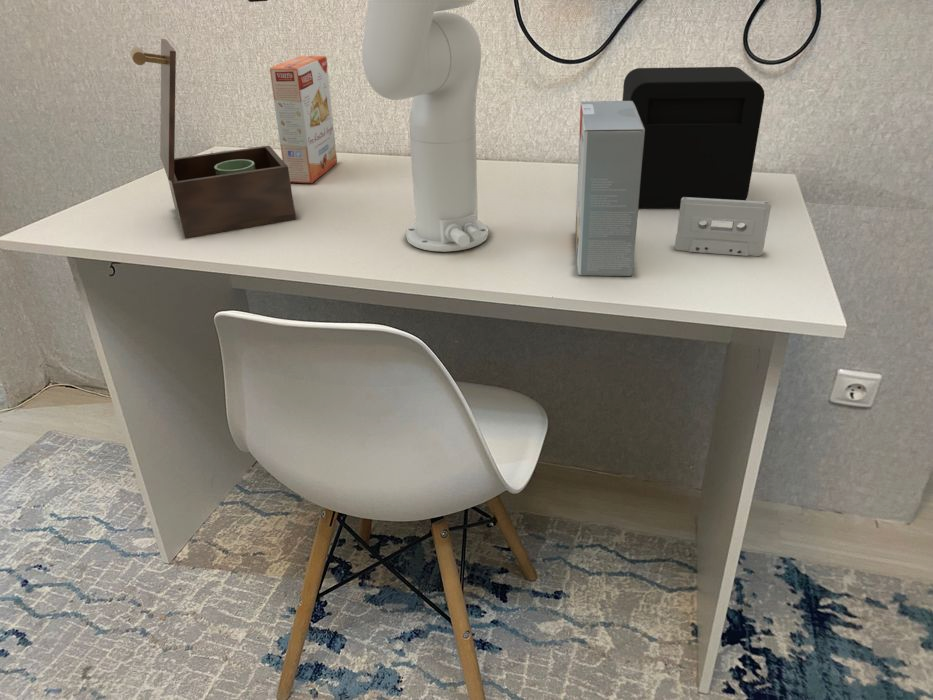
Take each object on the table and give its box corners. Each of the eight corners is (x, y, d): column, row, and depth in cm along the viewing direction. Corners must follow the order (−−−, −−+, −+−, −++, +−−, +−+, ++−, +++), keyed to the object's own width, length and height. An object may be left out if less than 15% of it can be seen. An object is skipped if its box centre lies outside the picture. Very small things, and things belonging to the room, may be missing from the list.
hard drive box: (574, 234, 113) (580, 100, 103) (624, 234, 113) (635, 99, 103) (576, 276, 100) (584, 127, 90) (634, 277, 99) (647, 127, 89)
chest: (277, 194, 135) (269, 145, 130) (296, 219, 123) (288, 166, 119) (175, 210, 129) (163, 159, 124) (184, 238, 117) (171, 183, 112)
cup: (264, 211, 124) (257, 167, 120) (225, 217, 122) (216, 172, 118) (258, 200, 129) (251, 157, 126) (221, 205, 127) (212, 162, 124)
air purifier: (728, 181, 133) (746, 64, 123) (747, 209, 121) (768, 81, 111) (615, 181, 135) (623, 66, 125) (621, 208, 123) (631, 82, 113)
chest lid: (166, 39, 116) (128, 33, 114) (175, 51, 105) (134, 45, 102) (165, 157, 124) (130, 154, 122) (174, 180, 112) (135, 178, 110)
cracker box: (314, 184, 139) (298, 67, 128) (284, 183, 140) (266, 67, 130) (340, 163, 151) (327, 54, 140) (312, 162, 152) (297, 54, 141)
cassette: (761, 252, 105) (771, 200, 101) (762, 257, 104) (772, 205, 100) (674, 246, 108) (680, 195, 104) (674, 251, 107) (680, 200, 103)
